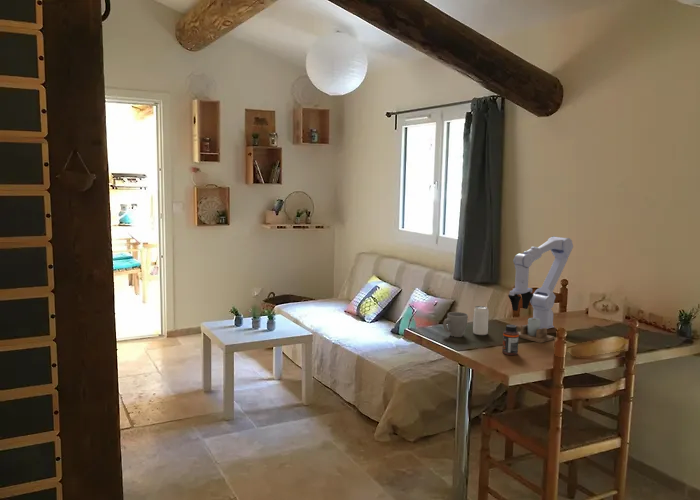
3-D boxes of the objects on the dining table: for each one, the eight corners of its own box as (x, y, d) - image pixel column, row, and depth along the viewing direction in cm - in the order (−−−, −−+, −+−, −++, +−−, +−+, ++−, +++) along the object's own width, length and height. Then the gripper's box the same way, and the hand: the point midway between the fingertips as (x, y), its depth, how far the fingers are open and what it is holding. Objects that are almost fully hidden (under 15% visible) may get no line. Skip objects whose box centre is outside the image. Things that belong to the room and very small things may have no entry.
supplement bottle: (500, 351, 243) (501, 323, 241) (514, 351, 243) (516, 323, 242) (505, 355, 237) (506, 327, 235) (519, 355, 237) (521, 327, 236)
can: (487, 335, 266) (489, 309, 265) (472, 334, 268) (474, 308, 266) (487, 332, 273) (488, 306, 271) (472, 331, 274) (474, 305, 272)
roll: (531, 332, 268) (532, 317, 268) (541, 335, 264) (542, 319, 264) (524, 334, 265) (525, 318, 265) (534, 336, 261) (535, 321, 261)
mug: (457, 332, 272) (458, 311, 271) (471, 336, 264) (472, 315, 263) (436, 335, 266) (437, 313, 265) (449, 340, 258) (450, 317, 257)
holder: (526, 332, 273) (526, 322, 273) (553, 339, 263) (554, 328, 262) (512, 335, 267) (513, 325, 267) (540, 342, 256) (541, 332, 256)
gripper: (523, 277, 281) (522, 306, 283) (504, 280, 272) (503, 309, 274) (536, 279, 276) (535, 308, 278) (517, 282, 267) (516, 312, 268)
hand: (520, 309), depth 275 cm, fingers open, 7 cm apart
